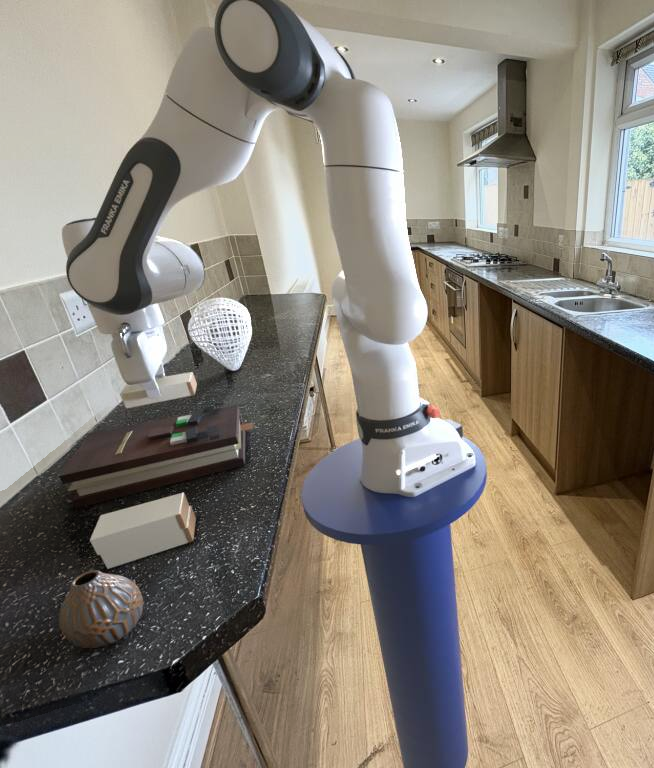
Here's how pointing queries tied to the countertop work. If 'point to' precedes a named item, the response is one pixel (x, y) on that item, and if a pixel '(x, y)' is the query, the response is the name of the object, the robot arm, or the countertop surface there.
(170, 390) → the cream block
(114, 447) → the decorative book
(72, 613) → the vase
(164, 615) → the countertop surface
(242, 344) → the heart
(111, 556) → the beige rectangular block
